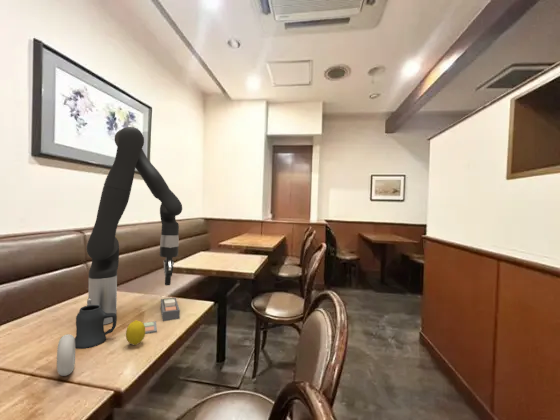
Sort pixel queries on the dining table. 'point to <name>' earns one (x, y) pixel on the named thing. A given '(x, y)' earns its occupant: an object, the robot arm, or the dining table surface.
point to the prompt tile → (150, 327)
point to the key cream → (169, 303)
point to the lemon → (135, 332)
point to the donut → (66, 355)
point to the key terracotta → (170, 308)
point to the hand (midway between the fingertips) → (167, 284)
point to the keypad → (170, 314)
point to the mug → (92, 326)
